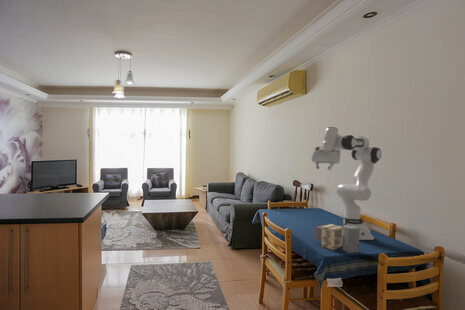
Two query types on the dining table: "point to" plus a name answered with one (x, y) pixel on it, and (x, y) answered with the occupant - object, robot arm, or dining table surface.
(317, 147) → the robot arm
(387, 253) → the dining table surface
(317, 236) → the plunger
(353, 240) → the skincare box
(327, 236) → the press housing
